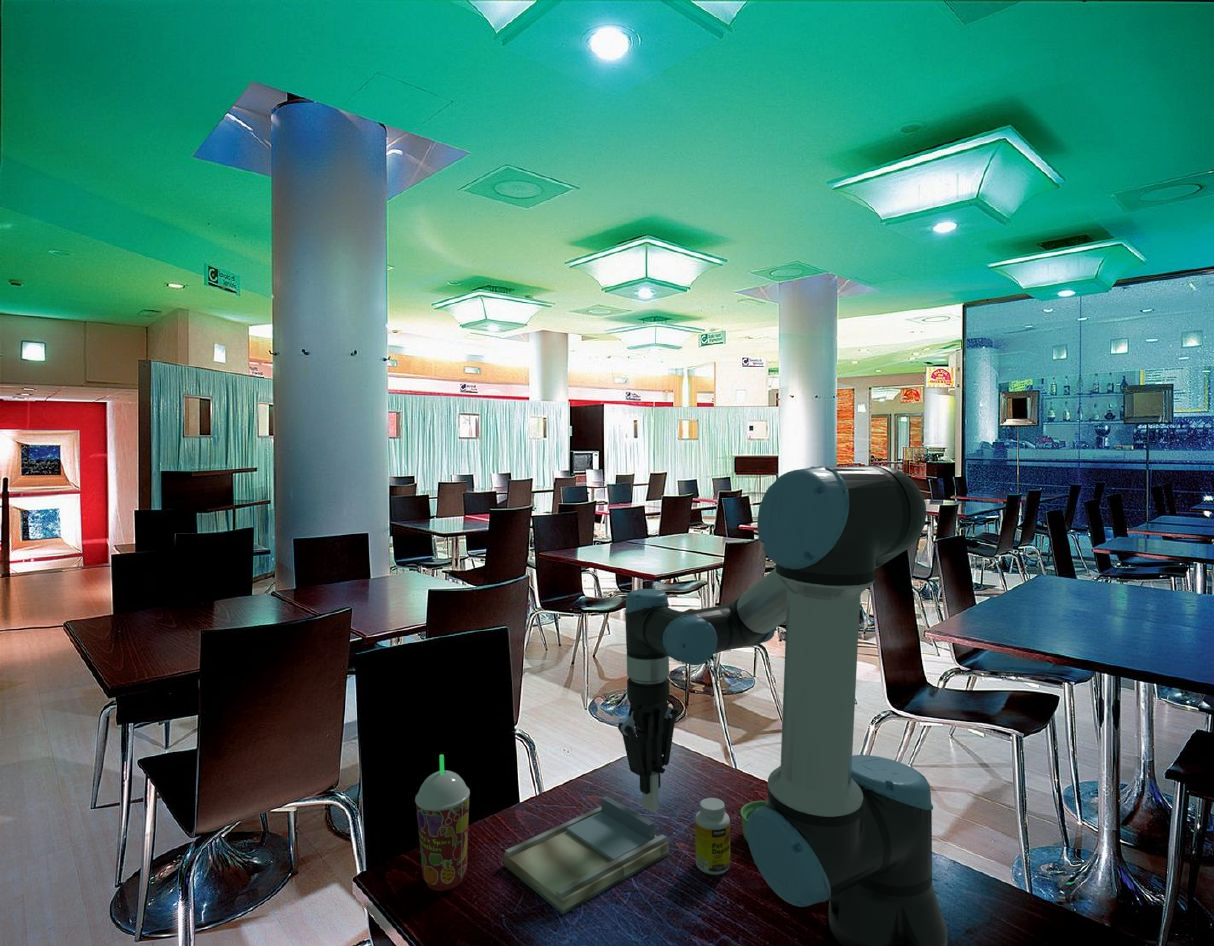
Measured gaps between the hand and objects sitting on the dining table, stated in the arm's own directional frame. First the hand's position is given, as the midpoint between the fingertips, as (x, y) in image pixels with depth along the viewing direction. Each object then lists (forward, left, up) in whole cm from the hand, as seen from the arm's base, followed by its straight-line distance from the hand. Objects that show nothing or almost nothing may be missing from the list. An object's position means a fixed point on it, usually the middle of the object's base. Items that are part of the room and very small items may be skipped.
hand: (650, 808), depth 122 cm
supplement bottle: (-15, +1, -4) cm, 15 cm away
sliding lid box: (0, +15, -3) cm, 15 cm away
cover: (0, +10, -1) cm, 10 cm away
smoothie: (+11, +35, -4) cm, 37 cm away
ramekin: (-16, -12, -4) cm, 21 cm away
